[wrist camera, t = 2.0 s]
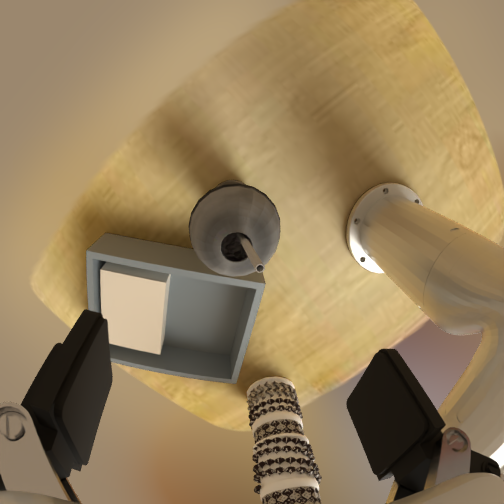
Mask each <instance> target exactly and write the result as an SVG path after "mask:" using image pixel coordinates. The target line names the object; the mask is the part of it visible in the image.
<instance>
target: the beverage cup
mask: <svg viewBox="0 0 504 504" xmlns="http://www.w3.org/2000/svg"><path fill="white" fill-rule="evenodd" d="M189 233H190V240H191V243H192V246H193V248H194V250H195V252H196V254H197V256H198V258H199V259H200V260H201V261H202V262H203V263H204V264H205V265H206V266H207V267H208V268H209V269H211V270H213V271H215V272H217V273H219V274H222V275H227V276H232V277H234V276H245V275H248V274H251V273H253V272H256V271H257V272H258V273H261V272H263V271H264V269H265V267H264V265H265V264H267V263H268V261H269V260H270V258H271V257H272V256H273V254H274V253H275V251H276V249H277V245H278V242H279V239H280V218H279V215H278V212H277V210H276V207H275V205H274V204H273V203H272V201H271V200H270V199H269V198H268V197H267V195H266V194H264V193H263V192H261V191H259V190H258V189H256V188H255V187H252V186H248V185H245V184H244V183H242V182H240V181H236V180H227V181H225V182H222V183H220V184H219V185H218V186H217V187H216V188H214V189H212V190H210V191H208V192H207V193H206V194H205V195H204V196H203V197H202V198H200V199H199V200H198V202H197V204H196V205H195V207H194V209H193V211H192V212H191V217H190V222H189Z"/></svg>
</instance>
